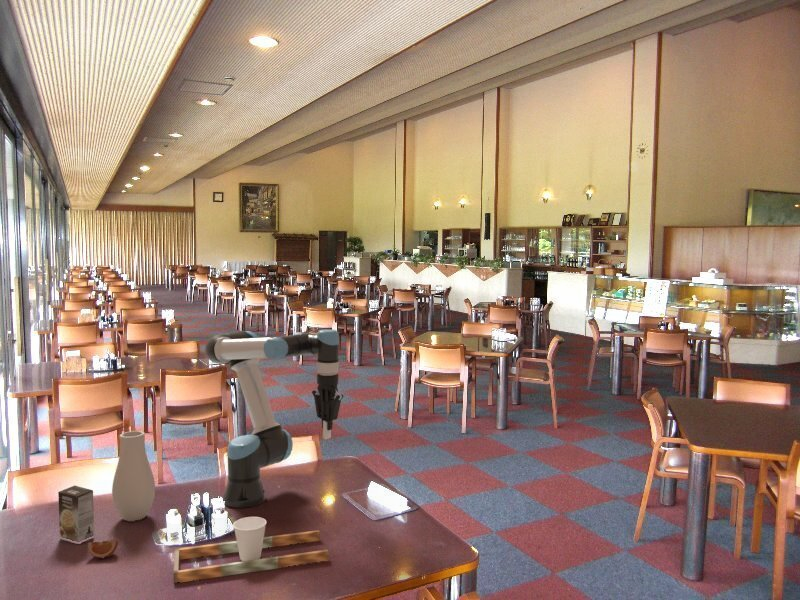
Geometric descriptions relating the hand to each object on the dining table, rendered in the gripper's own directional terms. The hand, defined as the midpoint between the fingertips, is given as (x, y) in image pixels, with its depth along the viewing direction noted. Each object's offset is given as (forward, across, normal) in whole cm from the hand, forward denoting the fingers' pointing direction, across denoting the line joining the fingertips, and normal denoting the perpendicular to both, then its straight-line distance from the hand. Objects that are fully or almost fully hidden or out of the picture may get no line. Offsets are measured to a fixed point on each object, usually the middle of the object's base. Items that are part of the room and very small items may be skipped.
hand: (326, 438), depth 233 cm
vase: (+28, +48, +45) cm, 72 cm away
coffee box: (+28, +49, +65) cm, 86 cm away
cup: (+26, -7, +42) cm, 50 cm away
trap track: (+26, -8, +42) cm, 50 cm away
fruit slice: (+27, +31, +67) cm, 79 cm away
